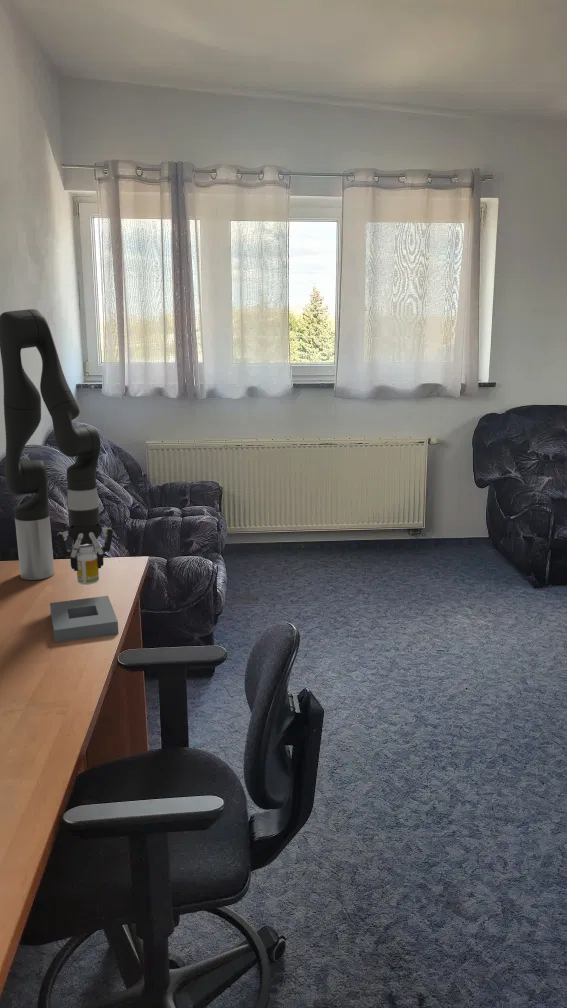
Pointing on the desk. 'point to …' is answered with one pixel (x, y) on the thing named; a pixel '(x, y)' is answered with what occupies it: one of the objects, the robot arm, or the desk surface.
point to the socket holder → (83, 619)
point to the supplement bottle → (87, 565)
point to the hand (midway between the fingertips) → (87, 568)
